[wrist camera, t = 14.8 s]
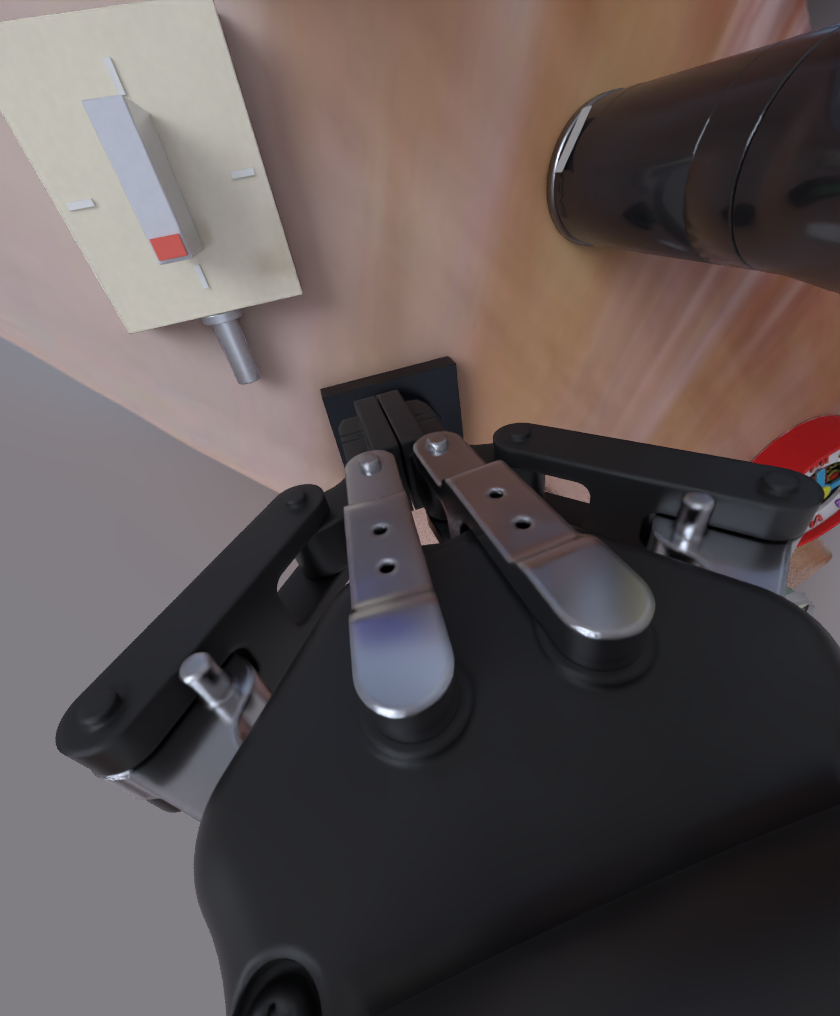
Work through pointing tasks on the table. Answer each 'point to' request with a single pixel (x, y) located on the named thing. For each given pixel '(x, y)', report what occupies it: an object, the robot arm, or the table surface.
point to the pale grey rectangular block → (145, 176)
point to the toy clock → (812, 465)
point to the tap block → (184, 136)
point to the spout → (234, 345)
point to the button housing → (413, 382)
